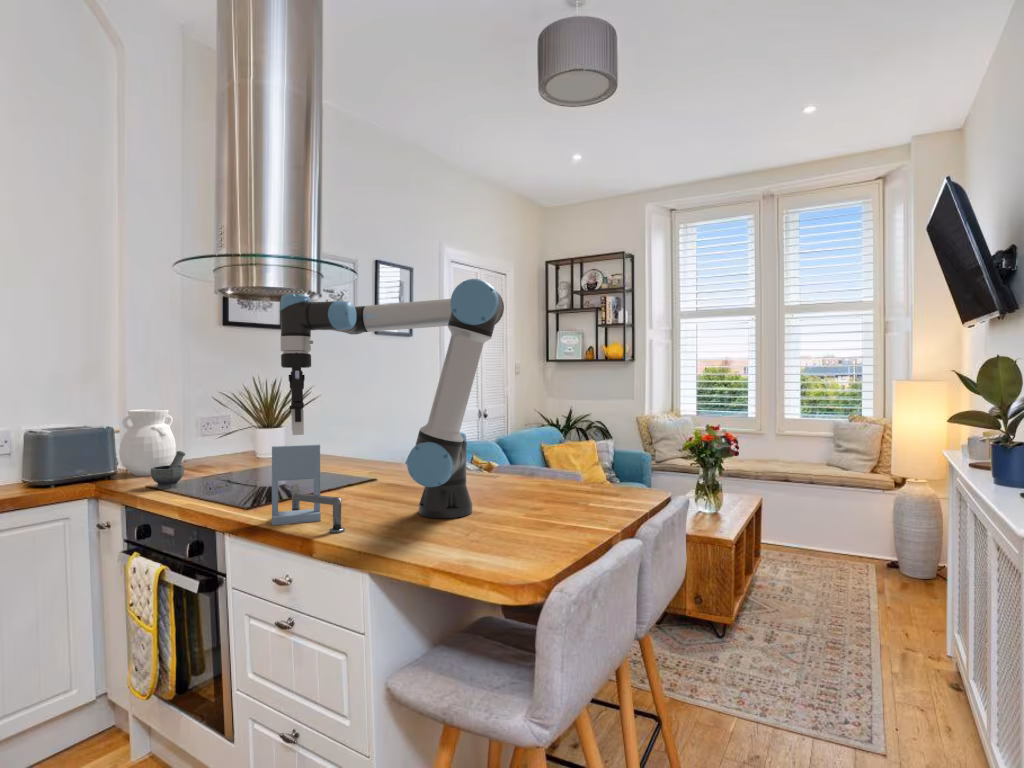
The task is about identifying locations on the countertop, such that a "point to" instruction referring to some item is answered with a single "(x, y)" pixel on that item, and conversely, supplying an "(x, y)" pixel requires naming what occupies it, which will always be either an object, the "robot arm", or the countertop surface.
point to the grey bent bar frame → (322, 500)
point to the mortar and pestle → (169, 473)
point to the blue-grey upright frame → (295, 467)
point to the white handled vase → (147, 441)
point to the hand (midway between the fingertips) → (297, 432)
